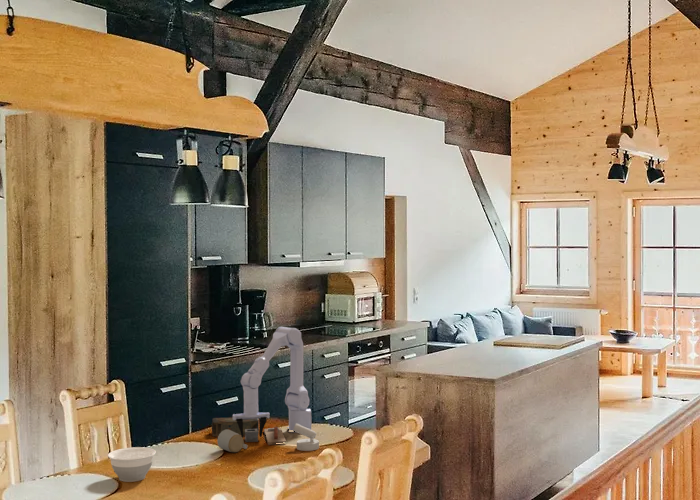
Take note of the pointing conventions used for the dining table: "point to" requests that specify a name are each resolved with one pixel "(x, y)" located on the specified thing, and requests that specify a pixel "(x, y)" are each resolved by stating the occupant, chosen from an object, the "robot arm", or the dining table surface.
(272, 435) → the board
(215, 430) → the beverage carton
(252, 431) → the open square sleeve
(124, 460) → the bowl
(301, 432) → the white round-based angled piece
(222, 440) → the ceramic mug
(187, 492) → the dining table surface
